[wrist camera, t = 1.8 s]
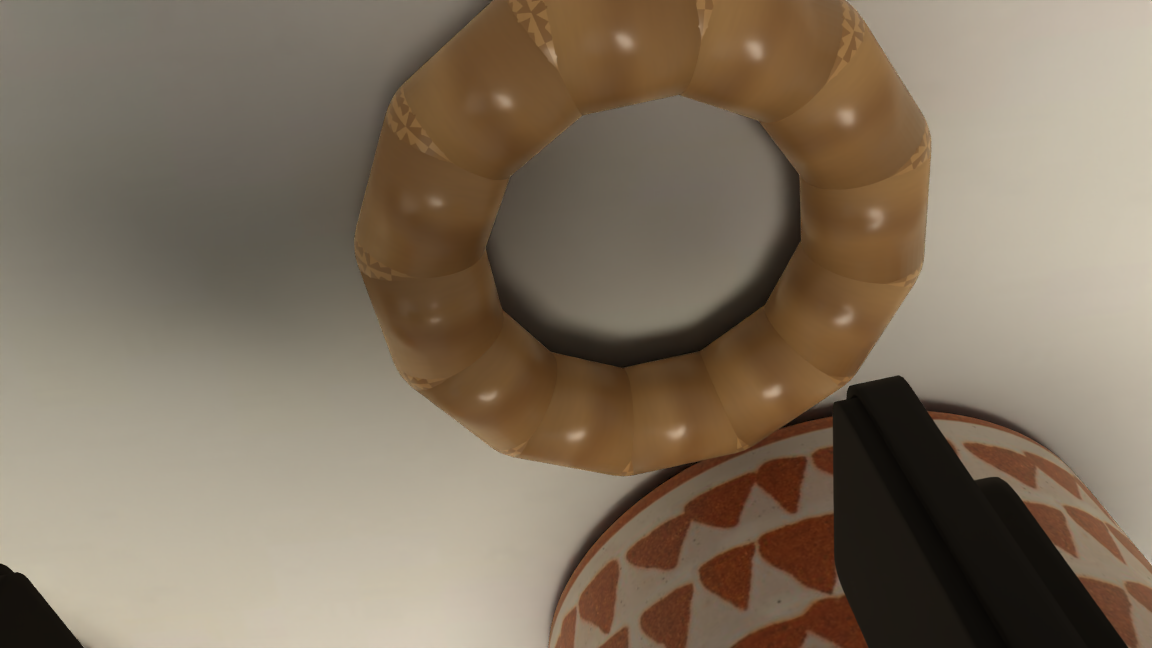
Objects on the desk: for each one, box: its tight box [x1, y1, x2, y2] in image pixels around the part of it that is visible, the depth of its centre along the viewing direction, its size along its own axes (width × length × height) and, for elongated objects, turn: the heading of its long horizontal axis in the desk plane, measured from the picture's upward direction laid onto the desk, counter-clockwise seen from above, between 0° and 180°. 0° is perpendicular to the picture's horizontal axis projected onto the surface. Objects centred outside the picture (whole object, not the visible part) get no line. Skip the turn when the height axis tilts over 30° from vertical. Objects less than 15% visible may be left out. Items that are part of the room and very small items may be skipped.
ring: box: [354, 0, 931, 476], centre depth 15 cm, size 9×9×2 cm
